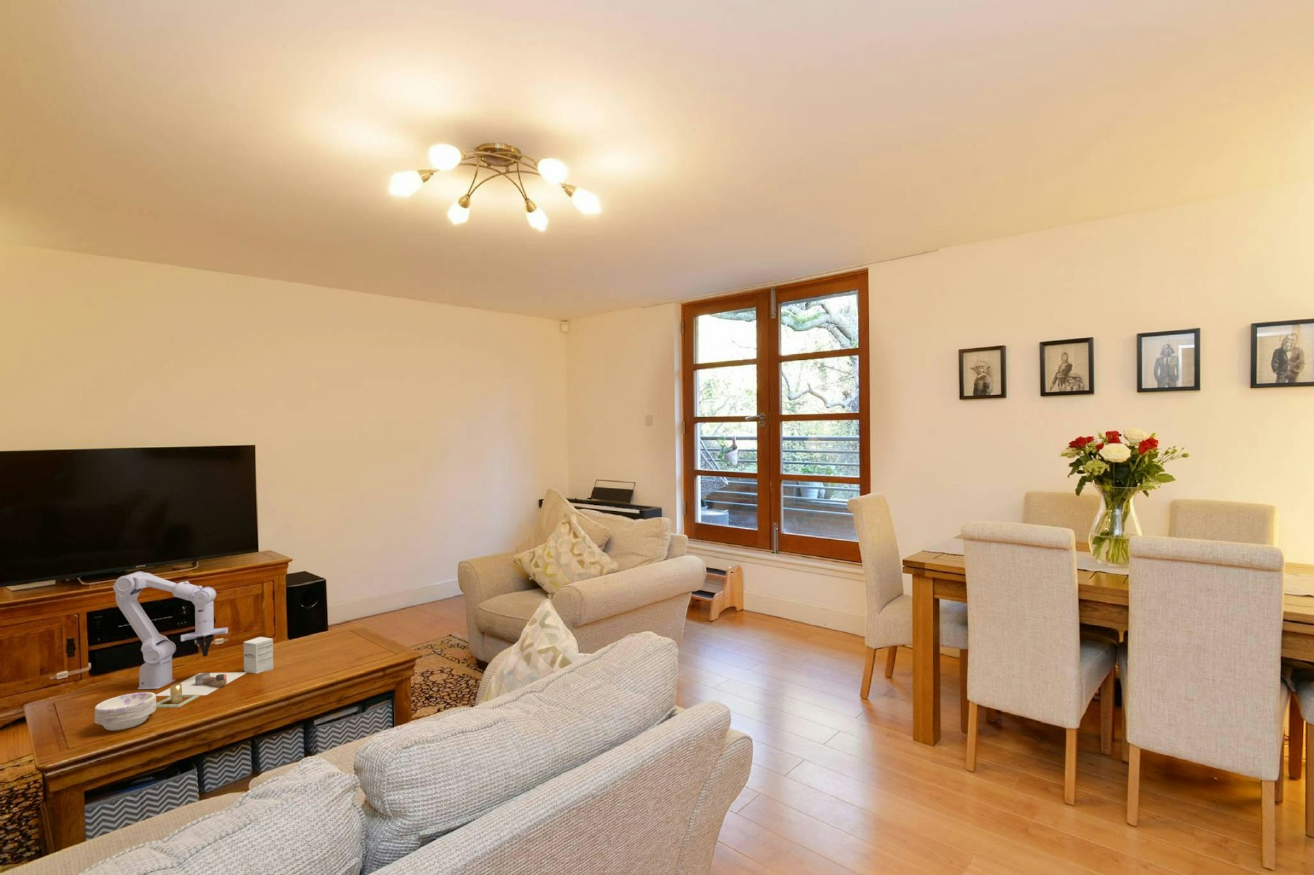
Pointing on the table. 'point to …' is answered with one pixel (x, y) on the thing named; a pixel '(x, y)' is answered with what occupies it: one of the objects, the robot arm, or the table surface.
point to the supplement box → (258, 655)
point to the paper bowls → (125, 710)
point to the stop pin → (176, 693)
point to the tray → (177, 704)
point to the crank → (210, 680)
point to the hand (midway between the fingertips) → (205, 655)
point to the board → (192, 688)
